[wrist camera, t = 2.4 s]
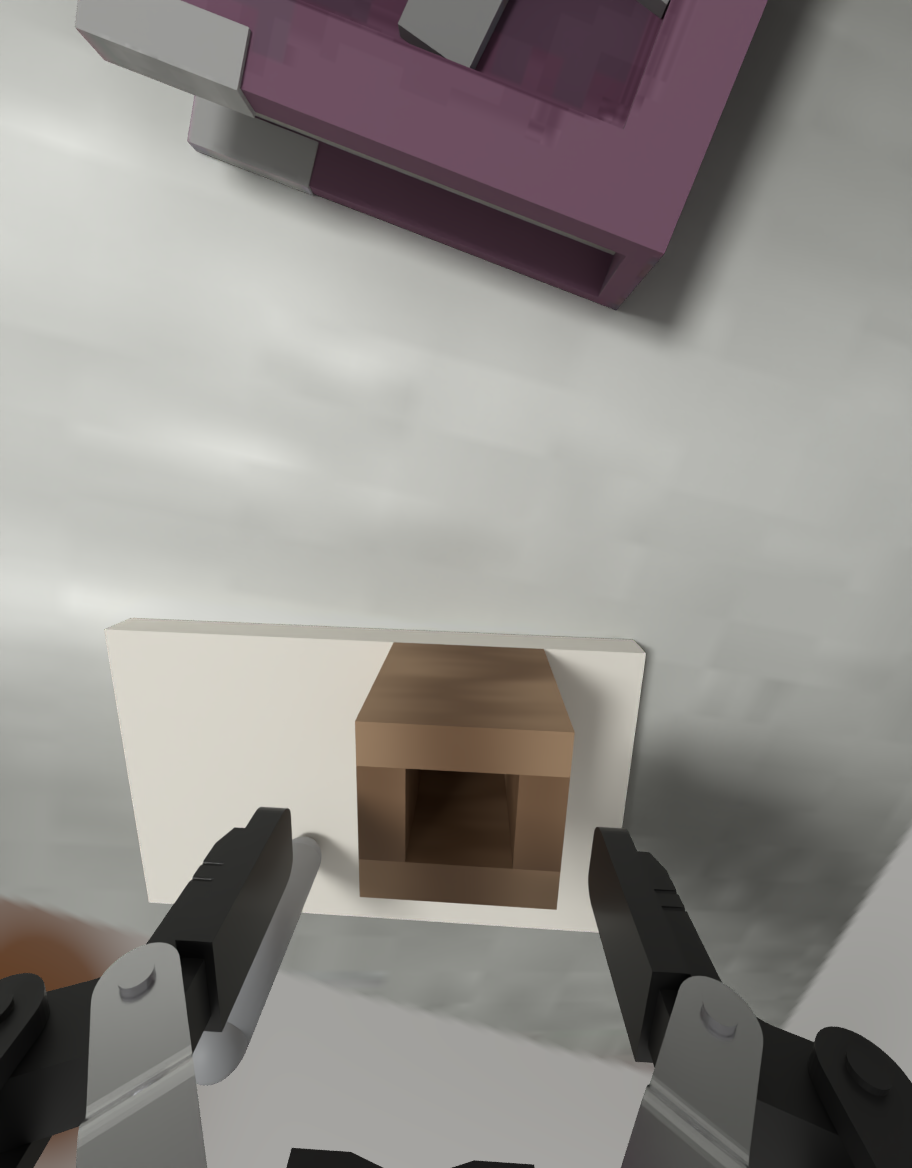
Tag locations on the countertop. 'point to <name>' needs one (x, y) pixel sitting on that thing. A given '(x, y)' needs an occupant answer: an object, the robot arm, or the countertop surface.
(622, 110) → the book
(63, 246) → the countertop surface
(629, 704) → the board
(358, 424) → the countertop surface
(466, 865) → the brown wooden hollow cube
